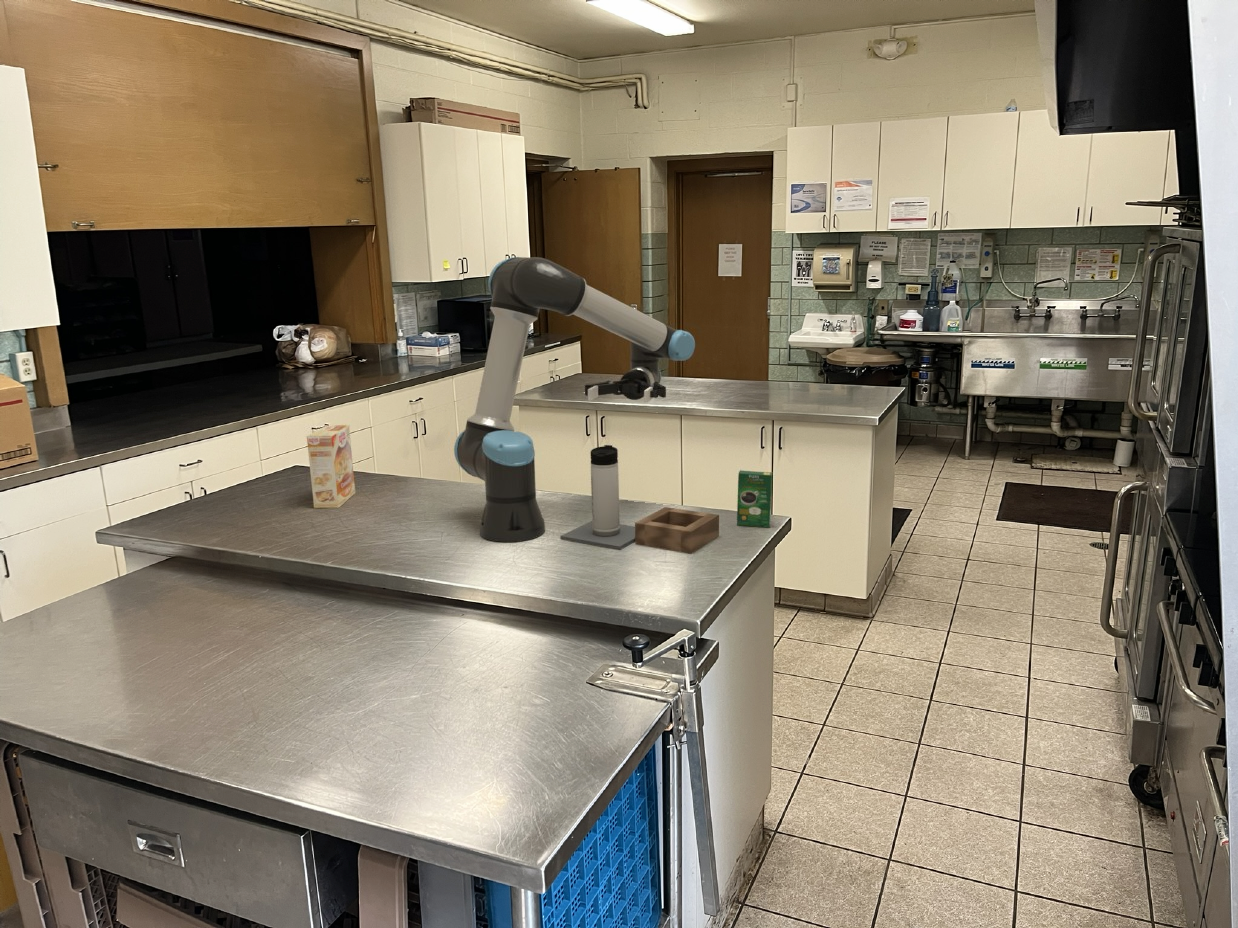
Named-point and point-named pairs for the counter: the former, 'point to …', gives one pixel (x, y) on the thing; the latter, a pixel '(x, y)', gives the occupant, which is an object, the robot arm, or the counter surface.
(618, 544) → the mat
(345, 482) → the coffeecake box
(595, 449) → the travel mug
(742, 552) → the counter surface
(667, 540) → the holder
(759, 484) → the coffee box
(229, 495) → the counter surface
